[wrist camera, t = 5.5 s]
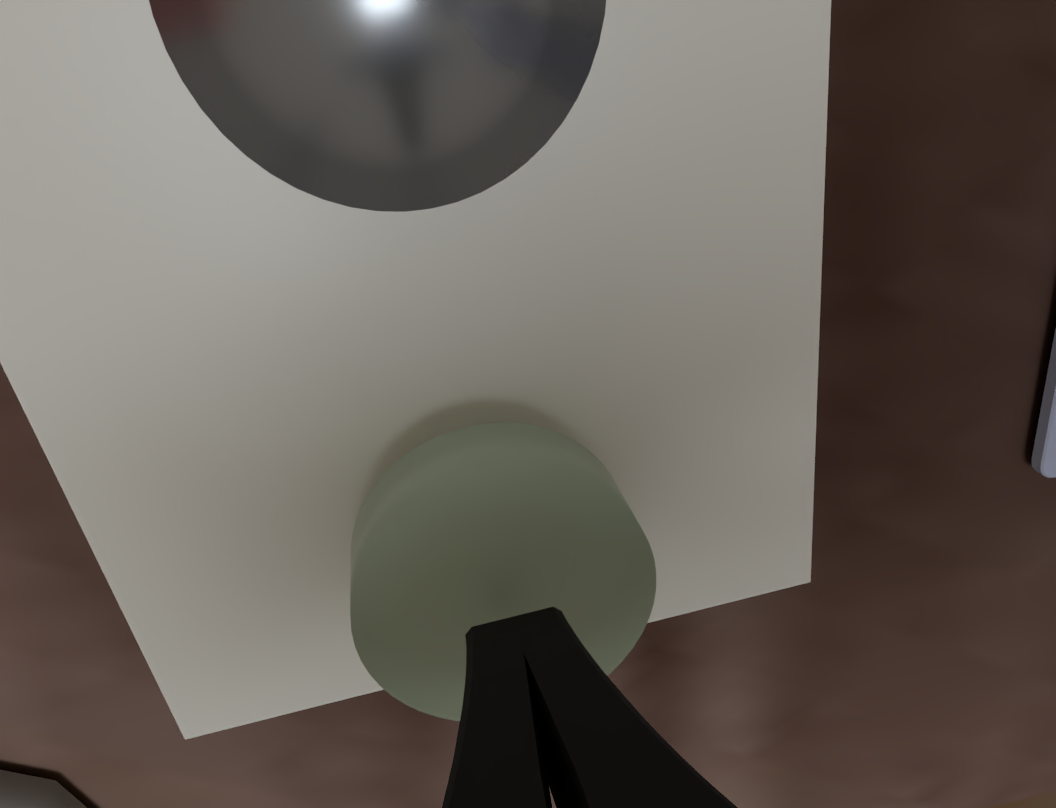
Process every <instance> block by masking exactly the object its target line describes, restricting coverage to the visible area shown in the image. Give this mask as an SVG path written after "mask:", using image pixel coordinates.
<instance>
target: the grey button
mask: <svg viewBox="0 0 1056 808" xmlns="http://www.w3.org/2000/svg"><path fill="white" fill-rule="evenodd" d="M149 3H150V6H151V10H152V14H153V18H154V20H155V23H156V25H157V28H158V31H159V33H160V36H161V38H162V41H163V44H164V46H165V49H166V51H167V53H168V55H169V57H170V59H171V61H172V63H173V64H174V66H175V68H176V70H177V72H178V74H179V76H180V78H181V80H182V81H183V83H184V84H185V86H186V87H187V89H188V90H189V92H190V93H191V95H192V96H193V98H194V99H195V101H196V102H197V104H198V105H199V107H200V108H201V109H202V111H203V112H204V113H205V114H206V115H207V116H208V118H209V119H210V120H211V121H212V122H213V123H214V125H215V126H216V127H217V128H218V129H219V130H220V132H221V133H222V134H223V135H224V136H225V137H226V138H227V139H228V140H230V141H231V142H232V143H233V144H234V145H235V146H236V147H237V148H238V149H239V150H240V151H241V152H242V153H244V154H245V155H246V156H247V157H248V158H250V159H251V160H252V161H254V162H255V163H257V164H258V165H259V166H261V167H262V168H263V169H265V170H266V171H267V172H269V173H270V174H272V175H274V176H275V177H277V178H279V179H281V180H282V181H284V182H286V183H288V184H289V185H291V186H293V187H295V188H297V189H299V190H301V191H304V192H306V193H308V194H311V195H313V196H316V197H318V198H320V199H323V200H326V201H330V202H333V203H337V204H341V205H344V206H348V207H352V208H359V209H366V210H373V211H392V212H407V211H415V210H424V209H432V208H436V207H440V206H444V205H448V204H452V203H456V202H459V201H461V200H464V199H466V198H469V197H471V196H474V195H476V194H479V193H481V192H483V191H485V190H487V189H488V188H490V187H492V186H494V185H495V184H497V183H499V182H501V181H503V180H504V179H506V178H507V177H508V176H510V175H511V174H512V173H514V172H515V171H516V170H518V169H519V168H520V167H522V166H523V165H524V164H526V163H527V162H528V161H529V160H530V159H531V158H532V157H533V156H534V155H535V154H536V153H537V152H538V151H539V150H540V149H541V148H542V147H543V146H544V145H545V144H546V143H547V142H548V141H549V139H550V138H551V137H552V136H553V134H554V133H555V132H556V130H557V129H558V128H559V127H560V125H561V124H562V123H563V121H564V120H565V118H566V116H567V115H568V113H569V112H570V110H571V108H572V107H573V105H574V103H575V102H576V100H577V99H578V96H579V94H580V92H581V90H582V88H583V85H584V83H585V81H586V79H587V77H588V75H589V72H590V69H591V66H592V63H593V60H594V57H595V54H596V51H597V48H598V45H599V41H600V36H601V31H602V26H603V21H604V16H605V8H606V0H149Z"/></svg>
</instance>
